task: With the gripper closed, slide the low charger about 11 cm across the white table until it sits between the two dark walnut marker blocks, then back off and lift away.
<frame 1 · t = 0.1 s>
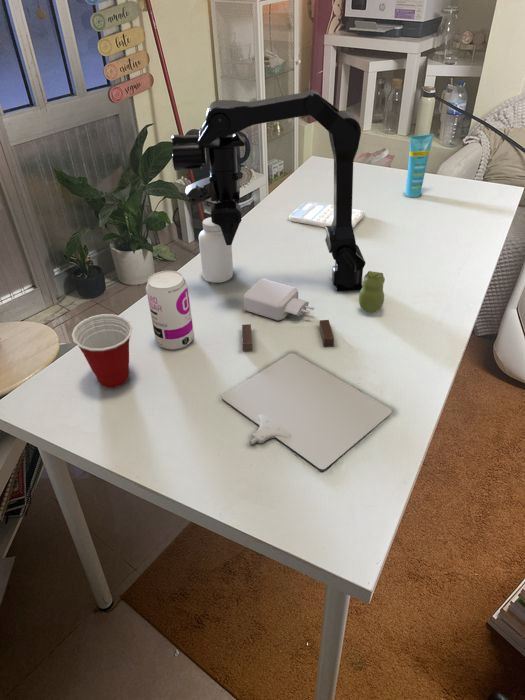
hand: (228, 235, 121), 15 cm above the table, tool pointing down, fingers open, 9 cm apart
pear: (370, 311, 121), on the table
calculator: (326, 219, 162), on the table
charger: (282, 311, 122), on the table
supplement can: (175, 340, 115), on the table
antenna: (297, 411, 96), on the table
pill bottle: (218, 276, 136), on the table
bay: (286, 339, 113), on the table
plastic cup: (115, 379, 105), on the table
tube: (413, 195, 175), on the table
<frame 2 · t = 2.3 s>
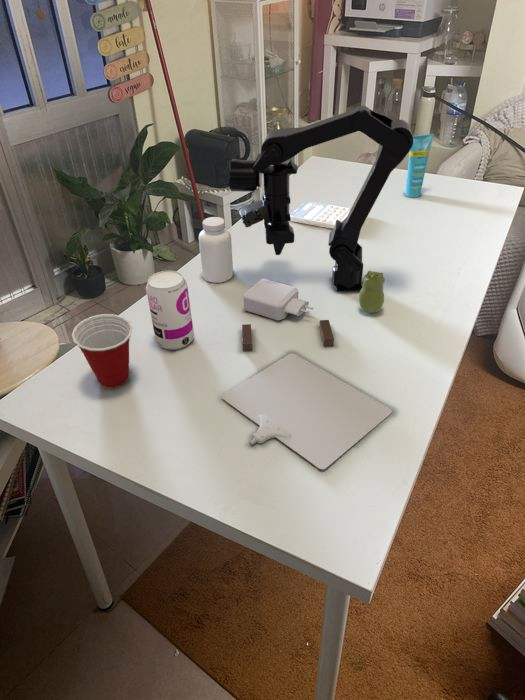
hand: (277, 254, 128), 8 cm above the table, tool pointing down, fingers closed
nothing on the table moved.
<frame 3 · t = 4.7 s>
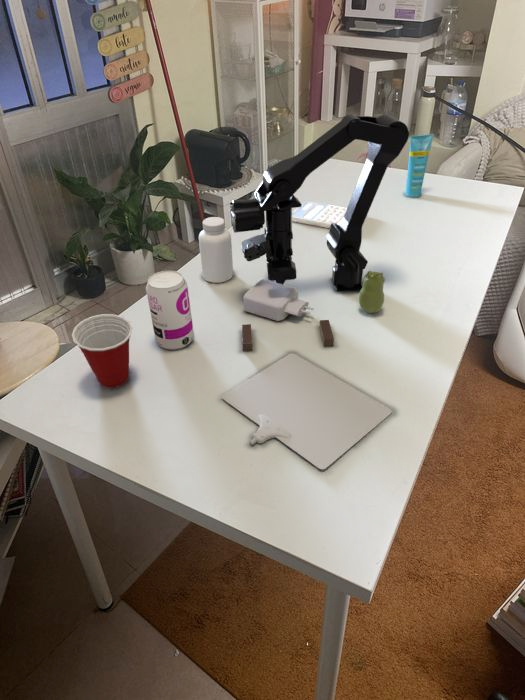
hand: (279, 286, 127), 2 cm above the table, tool pointing down, fingers closed
charger: (282, 312, 122), on the table, touching gripper
everything else where it was.
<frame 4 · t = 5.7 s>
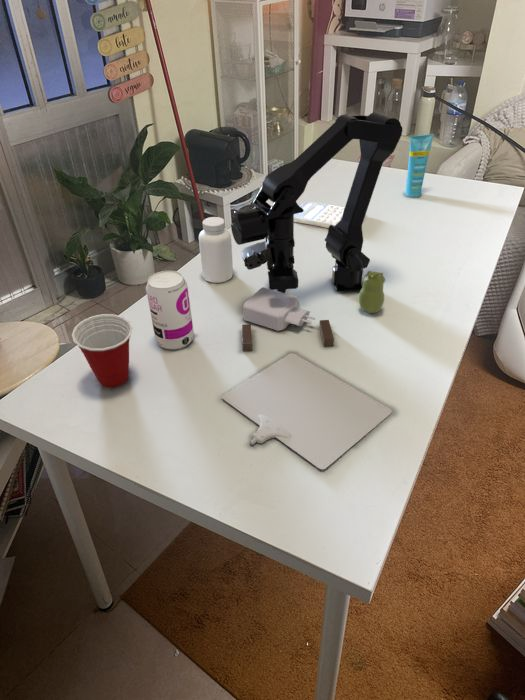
hand: (280, 295, 124), 2 cm above the table, tool pointing down, fingers closed
charger: (282, 321, 119), on the table, touching gripper
everything else where it was.
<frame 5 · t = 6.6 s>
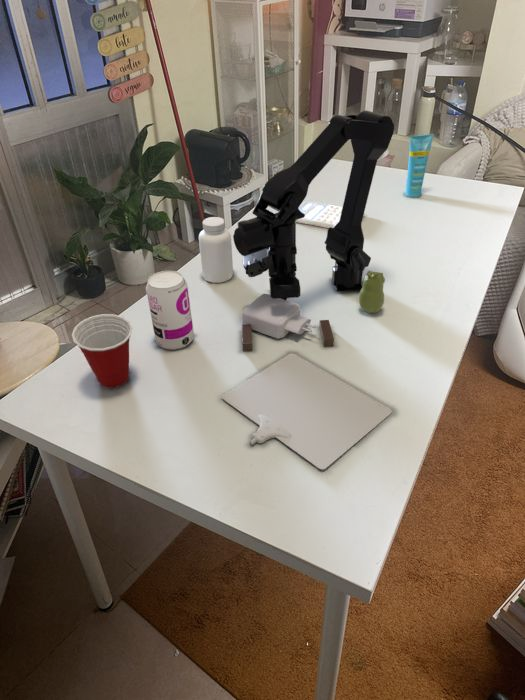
hand: (282, 302, 121), 2 cm above the table, tool pointing down, fingers closed
charger: (283, 329, 117), on the table, touching bay, gripper
everything else where it was.
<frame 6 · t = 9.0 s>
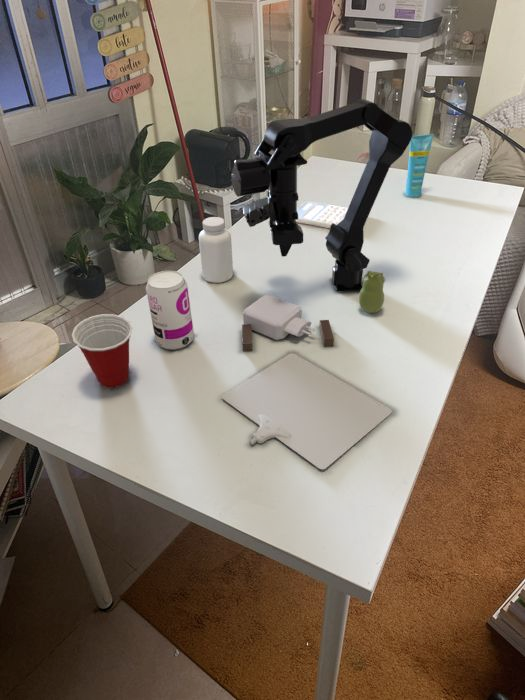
hand: (283, 255, 119), 12 cm above the table, tool pointing down, fingers closed
charger: (283, 330, 116), on the table
everything else where it was.
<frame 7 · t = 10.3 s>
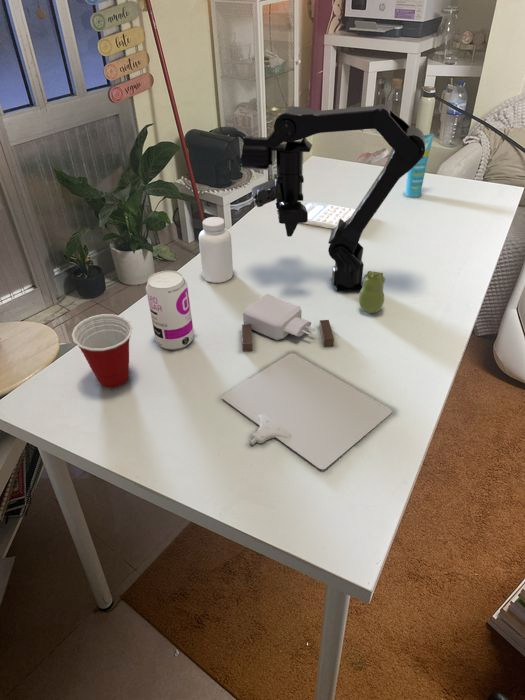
hand: (289, 235, 126), 12 cm above the table, tool pointing down, fingers closed
nothing on the table moved.
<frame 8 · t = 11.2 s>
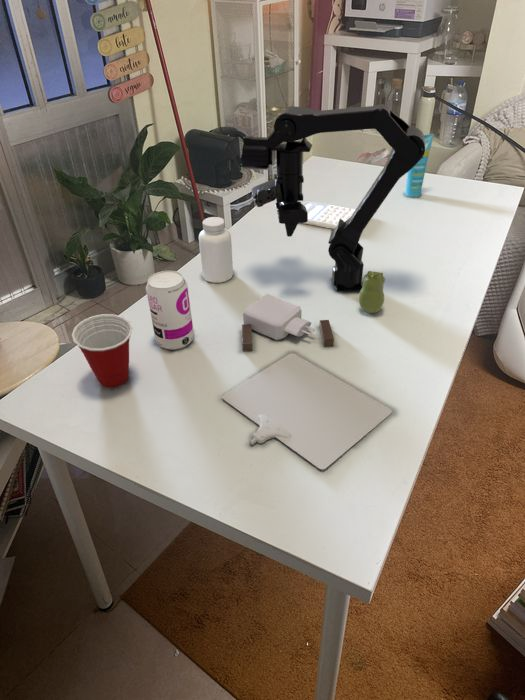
hand: (289, 235, 126), 12 cm above the table, tool pointing down, fingers closed
nothing on the table moved.
at the end: charger inside the target area (3.8 cm from its centre), on the table; charger tilted 0° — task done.
